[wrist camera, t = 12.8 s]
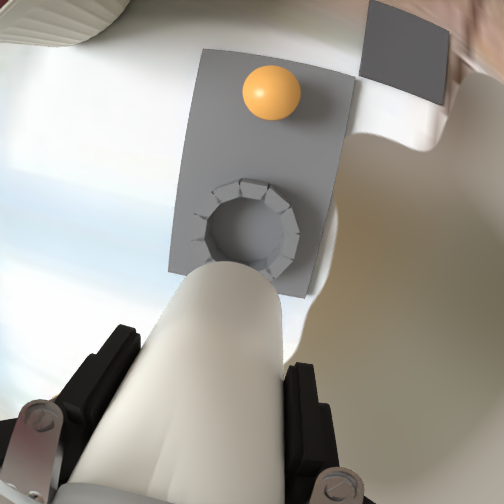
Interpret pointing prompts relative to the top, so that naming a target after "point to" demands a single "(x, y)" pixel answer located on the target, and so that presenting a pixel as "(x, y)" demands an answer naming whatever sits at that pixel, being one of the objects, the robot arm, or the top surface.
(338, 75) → the plate
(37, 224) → the top surface
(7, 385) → the top surface
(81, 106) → the top surface
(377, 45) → the mat
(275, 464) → the cylinder
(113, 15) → the canister
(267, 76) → the plunger
